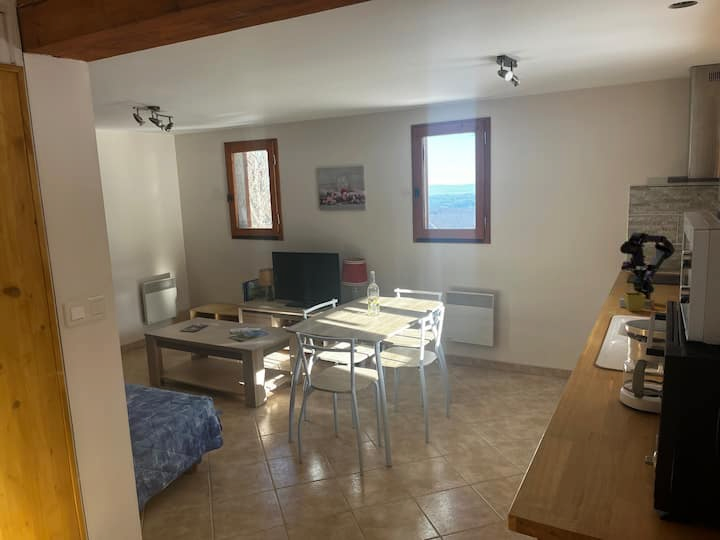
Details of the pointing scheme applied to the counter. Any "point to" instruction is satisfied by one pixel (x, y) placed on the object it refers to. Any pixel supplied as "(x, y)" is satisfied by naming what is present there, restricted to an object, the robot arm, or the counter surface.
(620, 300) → the grey block
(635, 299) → the flower pot
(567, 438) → the counter surface
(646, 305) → the walnut block
